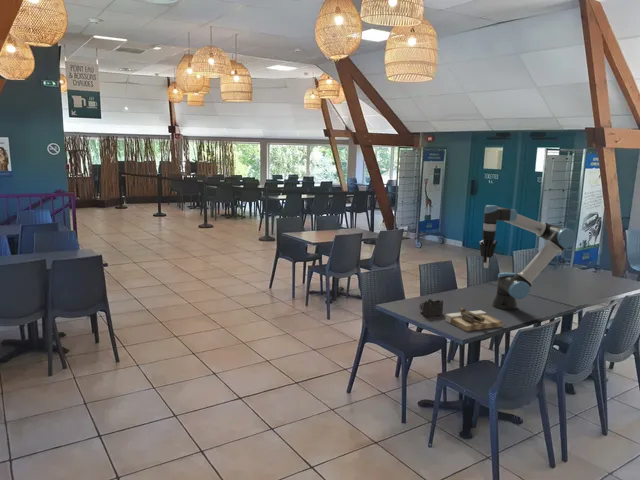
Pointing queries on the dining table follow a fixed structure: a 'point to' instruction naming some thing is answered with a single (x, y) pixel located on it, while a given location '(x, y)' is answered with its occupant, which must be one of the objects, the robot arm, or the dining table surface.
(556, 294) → the dining table surface
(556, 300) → the dining table surface
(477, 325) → the door slab
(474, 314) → the swing bar
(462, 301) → the dining table surface
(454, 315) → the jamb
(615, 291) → the dining table surface
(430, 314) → the camera
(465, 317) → the bar
